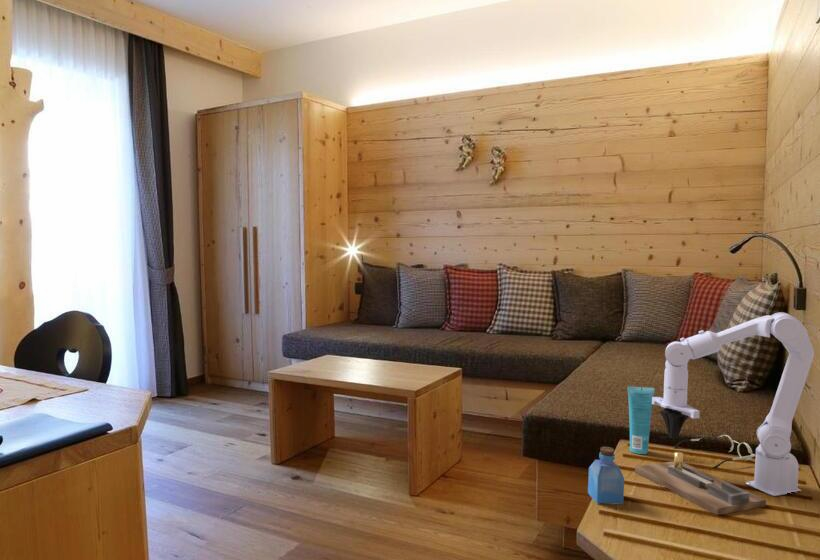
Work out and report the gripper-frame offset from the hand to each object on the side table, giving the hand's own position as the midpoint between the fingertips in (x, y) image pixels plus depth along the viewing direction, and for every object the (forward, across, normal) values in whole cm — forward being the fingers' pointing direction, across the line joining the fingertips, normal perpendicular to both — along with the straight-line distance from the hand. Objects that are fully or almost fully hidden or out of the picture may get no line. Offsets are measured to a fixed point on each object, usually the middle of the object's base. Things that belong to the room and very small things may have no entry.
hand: (673, 437), depth 154 cm
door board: (+9, +10, -2) cm, 14 cm away
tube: (+10, -16, +3) cm, 18 cm away
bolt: (+8, +8, -2) cm, 11 cm away
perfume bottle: (+10, +8, -28) cm, 31 cm away
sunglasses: (+10, -6, +22) cm, 25 cm away
